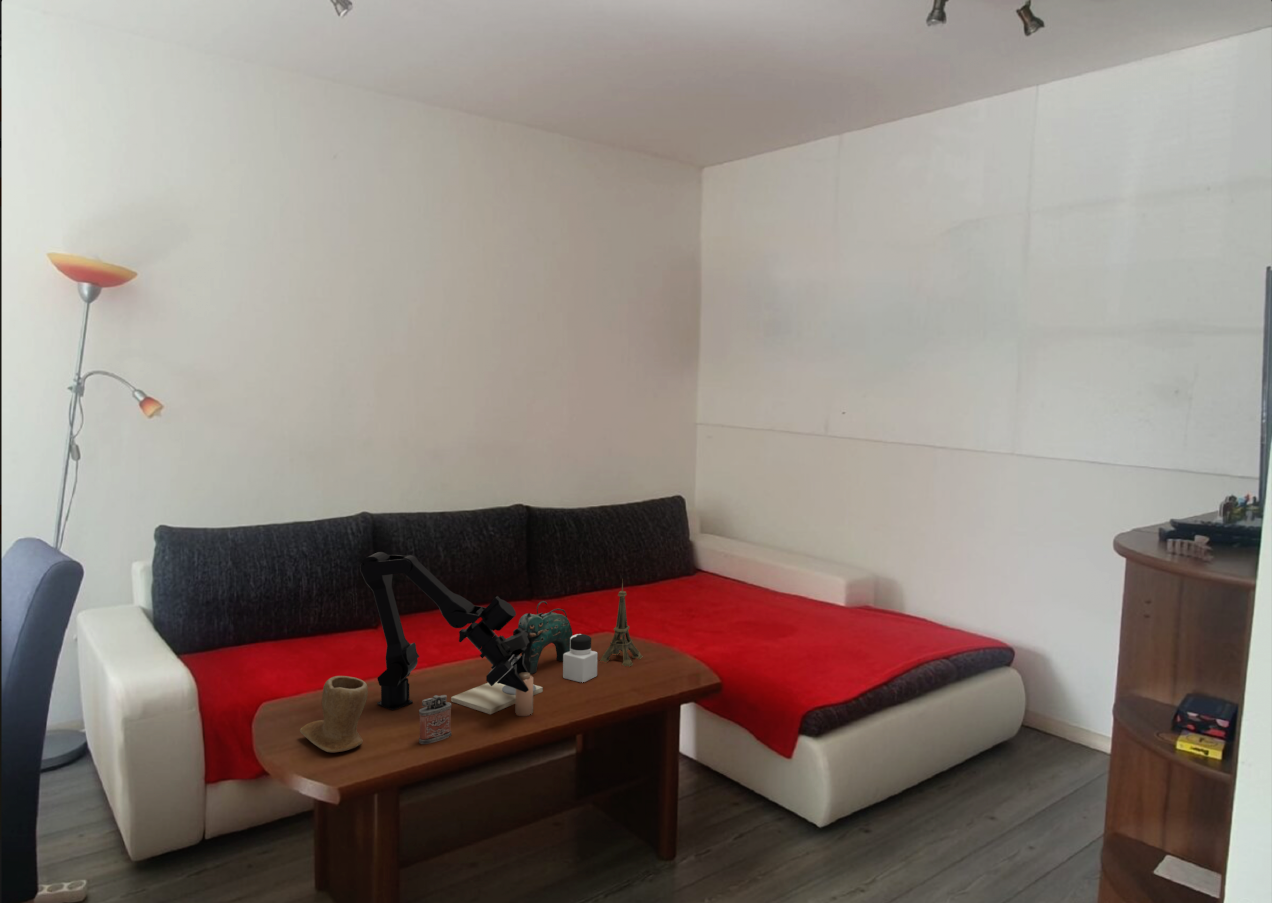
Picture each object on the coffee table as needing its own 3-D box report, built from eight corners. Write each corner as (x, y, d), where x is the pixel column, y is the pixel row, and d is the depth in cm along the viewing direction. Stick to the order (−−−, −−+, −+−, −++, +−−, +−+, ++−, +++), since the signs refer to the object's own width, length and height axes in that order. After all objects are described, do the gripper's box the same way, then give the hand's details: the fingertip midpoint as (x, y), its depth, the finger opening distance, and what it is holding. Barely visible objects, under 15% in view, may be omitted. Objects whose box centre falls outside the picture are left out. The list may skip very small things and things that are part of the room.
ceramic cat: (528, 677, 239) (528, 608, 238) (512, 672, 243) (512, 603, 242) (575, 660, 255) (576, 595, 253) (560, 655, 259) (561, 591, 257)
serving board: (491, 714, 212) (491, 709, 212) (451, 701, 220) (451, 696, 220) (544, 691, 228) (544, 686, 228) (504, 680, 236) (504, 675, 236)
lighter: (446, 731, 201) (446, 690, 200) (454, 735, 199) (454, 694, 198) (416, 740, 196) (416, 698, 195) (423, 745, 193) (423, 702, 192)
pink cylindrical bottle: (524, 717, 210) (525, 678, 210) (511, 713, 213) (512, 674, 212) (536, 712, 214) (537, 673, 213) (523, 707, 217) (523, 669, 216)
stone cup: (376, 746, 192) (376, 681, 191) (325, 761, 184) (324, 694, 183) (348, 725, 203) (348, 664, 202) (298, 738, 195) (298, 675, 194)
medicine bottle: (597, 676, 241) (598, 635, 240) (582, 683, 235) (583, 641, 234) (577, 671, 245) (578, 630, 244) (562, 678, 239) (562, 636, 238)
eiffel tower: (612, 652, 263) (614, 573, 262) (643, 657, 259) (645, 576, 257) (597, 662, 254) (599, 580, 252) (629, 667, 250) (631, 584, 248)
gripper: (499, 631, 203) (544, 679, 202) (519, 611, 221) (559, 655, 221) (467, 662, 204) (511, 709, 204) (489, 639, 223) (530, 682, 222)
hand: (529, 687), depth 213 cm, fingers open, 5 cm apart
